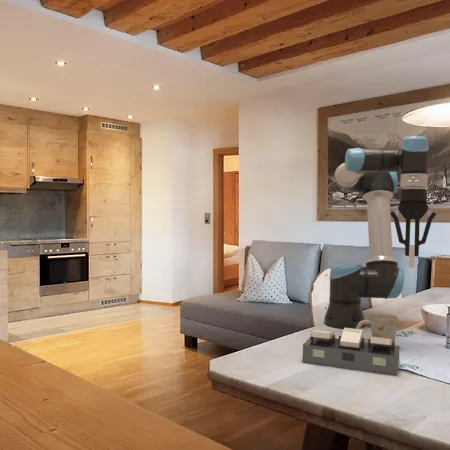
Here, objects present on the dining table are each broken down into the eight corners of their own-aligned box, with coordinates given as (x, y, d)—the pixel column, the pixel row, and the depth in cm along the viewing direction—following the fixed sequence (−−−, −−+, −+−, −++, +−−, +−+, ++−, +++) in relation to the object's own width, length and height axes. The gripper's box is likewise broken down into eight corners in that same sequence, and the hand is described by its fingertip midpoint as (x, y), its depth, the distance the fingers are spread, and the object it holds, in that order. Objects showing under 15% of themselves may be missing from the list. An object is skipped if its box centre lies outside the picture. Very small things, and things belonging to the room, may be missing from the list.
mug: (399, 352, 141) (400, 319, 141) (356, 349, 144) (357, 317, 144) (394, 345, 150) (395, 314, 149) (354, 342, 152) (355, 312, 152)
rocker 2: (344, 332, 135) (344, 327, 134) (362, 334, 133) (362, 329, 133) (340, 345, 128) (340, 340, 127) (358, 348, 126) (358, 342, 125)
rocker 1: (317, 335, 138) (317, 329, 138) (334, 337, 136) (334, 331, 136) (311, 336, 131) (311, 330, 131) (329, 338, 129) (329, 332, 129)
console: (311, 351, 140) (311, 328, 140) (399, 363, 130) (399, 338, 130) (302, 362, 130) (302, 337, 130) (397, 376, 120) (397, 348, 120)
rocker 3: (373, 342, 131) (373, 336, 132) (391, 344, 129) (392, 338, 130) (370, 342, 124) (370, 336, 125) (390, 345, 122) (390, 338, 123)
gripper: (389, 188, 138) (387, 267, 139) (437, 187, 133) (435, 269, 133) (391, 189, 145) (389, 264, 145) (437, 189, 140) (435, 267, 140)
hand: (411, 267), depth 139 cm, fingers closed
